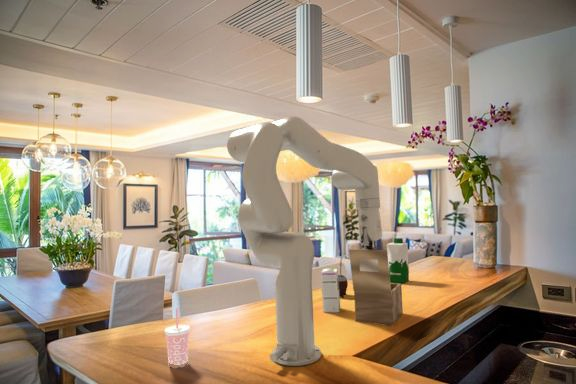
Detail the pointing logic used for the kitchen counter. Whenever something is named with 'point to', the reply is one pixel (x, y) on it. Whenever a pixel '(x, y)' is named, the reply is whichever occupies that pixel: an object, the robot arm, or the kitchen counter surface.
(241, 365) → the kitchen counter surface
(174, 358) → the beverage cup
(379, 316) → the carton
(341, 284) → the mate gourd
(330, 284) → the syrup box
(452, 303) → the kitchen counter surface
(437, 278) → the kitchen counter surface
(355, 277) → the carton flap
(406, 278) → the milk carton
